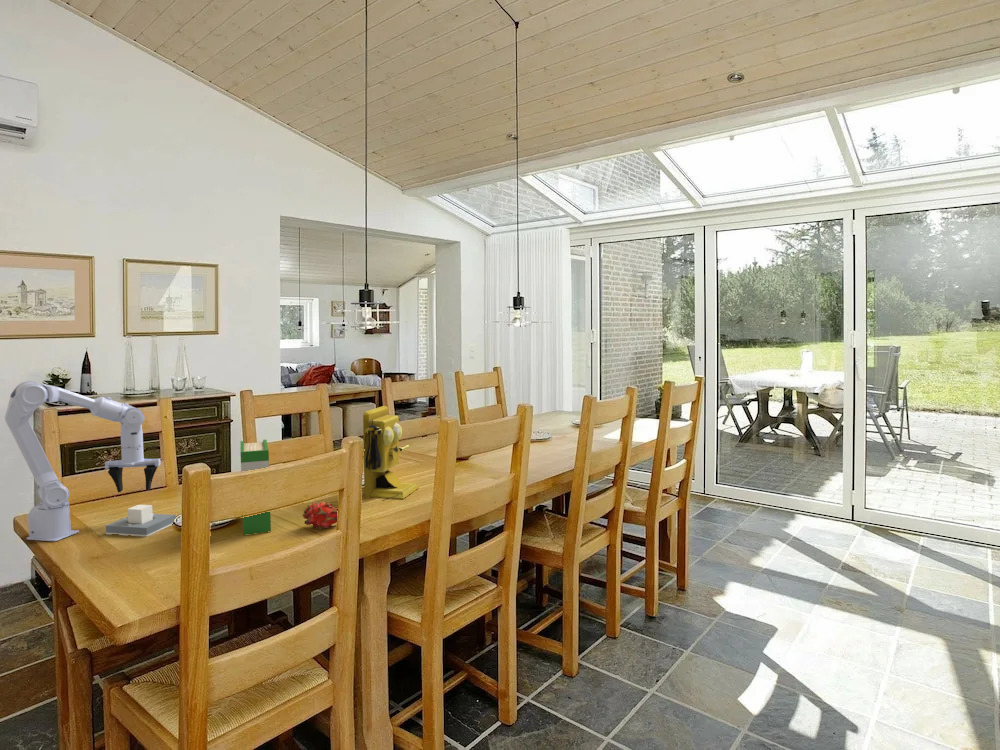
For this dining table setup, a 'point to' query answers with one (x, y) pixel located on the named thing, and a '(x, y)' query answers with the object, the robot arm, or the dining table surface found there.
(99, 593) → the dining table surface
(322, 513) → the dragon fruit
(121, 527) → the outlet box
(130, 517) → the block
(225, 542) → the dining table surface
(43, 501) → the robot arm
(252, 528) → the hardback book
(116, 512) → the dining table surface
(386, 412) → the vintage telephone
